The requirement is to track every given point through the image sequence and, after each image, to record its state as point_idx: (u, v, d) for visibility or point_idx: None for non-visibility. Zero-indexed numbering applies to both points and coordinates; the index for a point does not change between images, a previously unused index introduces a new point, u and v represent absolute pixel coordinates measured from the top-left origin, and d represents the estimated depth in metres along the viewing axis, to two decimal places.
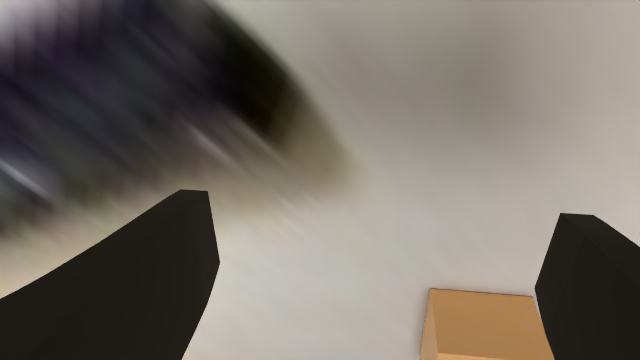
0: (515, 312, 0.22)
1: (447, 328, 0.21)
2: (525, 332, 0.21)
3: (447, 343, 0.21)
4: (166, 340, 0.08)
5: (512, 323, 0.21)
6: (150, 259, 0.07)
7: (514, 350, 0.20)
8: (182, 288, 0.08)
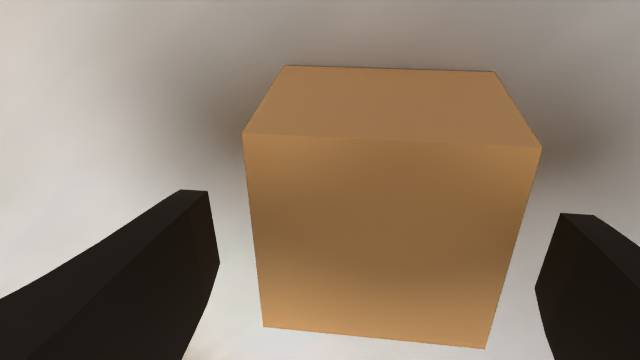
0: None
1: None
2: None
3: None
4: (166, 340, 0.08)
5: None
6: (150, 259, 0.07)
7: None
8: (182, 288, 0.08)
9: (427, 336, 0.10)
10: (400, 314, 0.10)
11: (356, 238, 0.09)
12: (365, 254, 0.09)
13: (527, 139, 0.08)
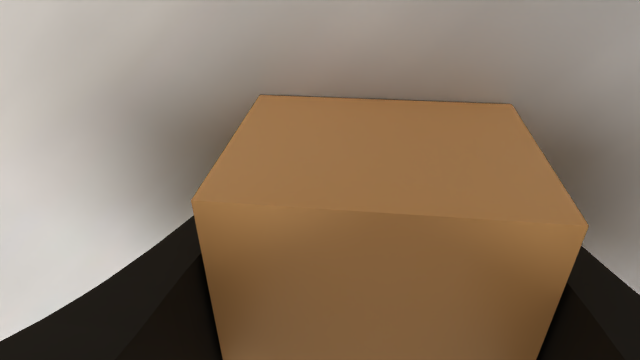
0: None
1: None
2: None
3: None
4: (216, 345, 0.08)
5: None
6: None
7: None
8: None
9: None
10: None
11: (343, 324, 0.07)
12: (355, 341, 0.07)
13: (566, 211, 0.06)
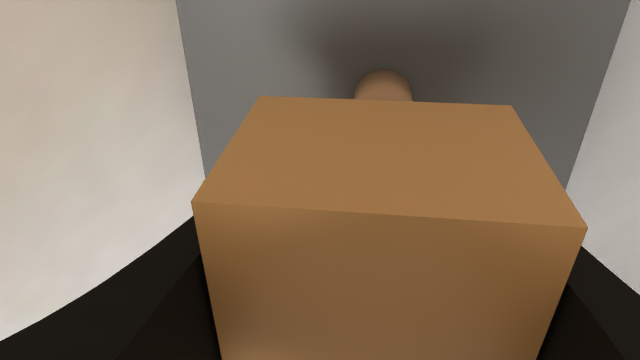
0: None
1: None
2: None
3: None
4: (216, 345, 0.08)
5: None
6: None
7: None
8: None
9: None
10: None
11: (343, 325, 0.07)
12: (354, 342, 0.07)
13: (565, 212, 0.06)
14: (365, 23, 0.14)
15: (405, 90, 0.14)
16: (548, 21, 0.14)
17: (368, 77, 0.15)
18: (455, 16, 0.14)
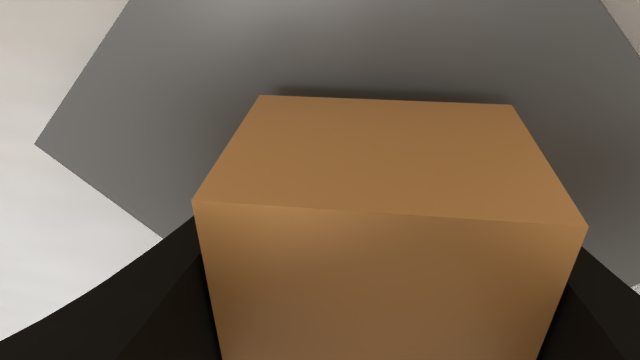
0: None
1: None
2: None
3: None
4: (216, 345, 0.08)
5: None
6: None
7: None
8: None
9: None
10: None
11: (343, 325, 0.07)
12: (355, 341, 0.07)
13: (566, 211, 0.06)
14: (437, 101, 0.10)
15: None
16: None
17: None
18: None
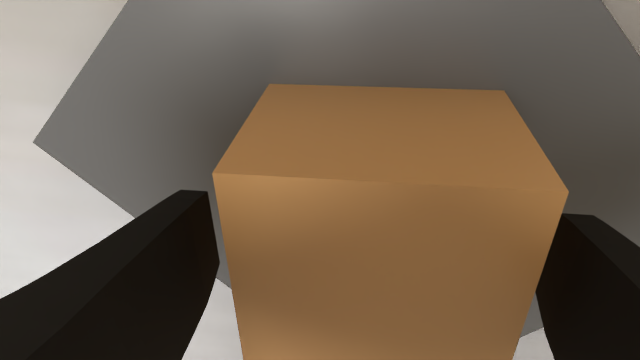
0: None
1: None
2: None
3: None
4: (166, 340, 0.08)
5: None
6: (150, 259, 0.07)
7: None
8: (182, 288, 0.08)
9: None
10: None
11: (349, 289, 0.08)
12: (360, 305, 0.08)
13: (549, 179, 0.06)
14: None
15: None
16: None
17: None
18: None
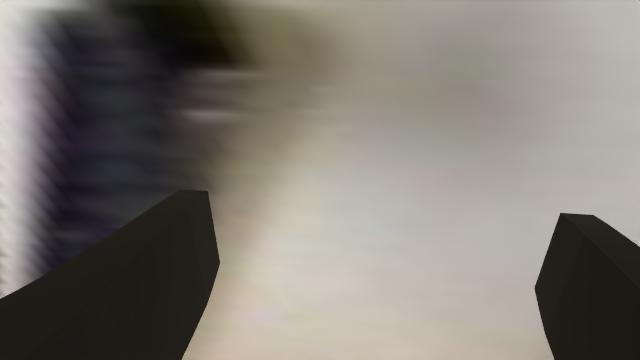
0: None
1: None
2: None
3: None
4: (166, 340, 0.08)
5: None
6: (150, 259, 0.07)
7: None
8: (182, 288, 0.08)
9: None
10: None
11: None
12: None
13: None
14: None
15: None
16: None
17: None
18: None
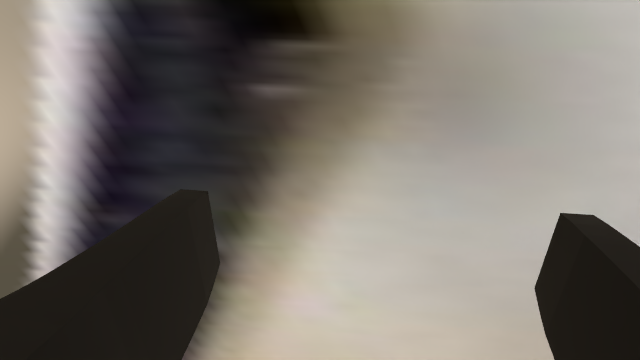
0: None
1: None
2: None
3: None
4: (166, 340, 0.08)
5: None
6: (150, 259, 0.07)
7: None
8: (182, 288, 0.08)
9: None
10: None
11: None
12: None
13: None
14: None
15: None
16: None
17: None
18: None
